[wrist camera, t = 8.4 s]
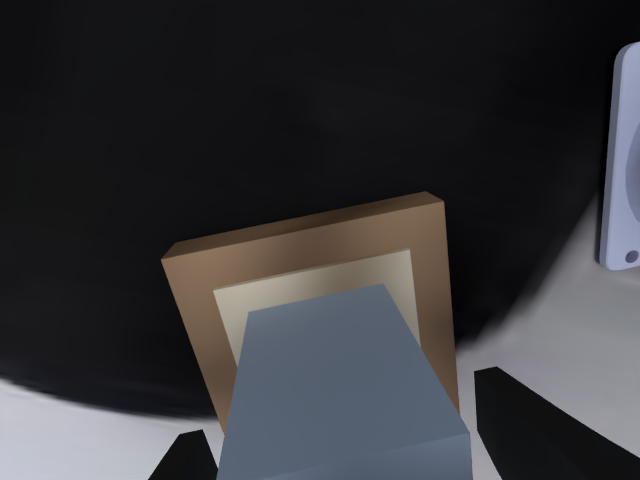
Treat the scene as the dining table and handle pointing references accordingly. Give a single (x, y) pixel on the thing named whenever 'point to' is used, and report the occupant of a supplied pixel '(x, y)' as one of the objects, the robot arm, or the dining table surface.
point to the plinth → (316, 279)
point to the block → (340, 397)
